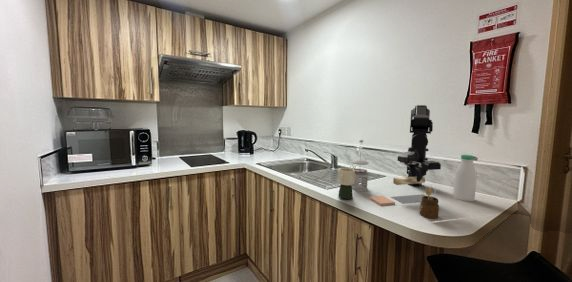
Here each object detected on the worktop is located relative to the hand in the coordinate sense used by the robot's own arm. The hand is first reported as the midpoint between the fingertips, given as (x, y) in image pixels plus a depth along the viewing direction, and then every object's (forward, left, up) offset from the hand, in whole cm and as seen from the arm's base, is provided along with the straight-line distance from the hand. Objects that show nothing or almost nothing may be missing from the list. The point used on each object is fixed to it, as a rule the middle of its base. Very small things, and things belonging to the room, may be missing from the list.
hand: (416, 180), depth 102 cm
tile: (+13, 0, -8) cm, 16 cm away
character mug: (+30, -8, -9) cm, 32 cm away
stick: (+4, 0, -1) cm, 4 cm away
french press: (+18, -18, -9) cm, 27 cm away
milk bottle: (-22, +4, -9) cm, 24 cm away
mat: (+1, 0, -9) cm, 9 cm away
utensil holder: (+9, +16, -9) cm, 20 cm away
